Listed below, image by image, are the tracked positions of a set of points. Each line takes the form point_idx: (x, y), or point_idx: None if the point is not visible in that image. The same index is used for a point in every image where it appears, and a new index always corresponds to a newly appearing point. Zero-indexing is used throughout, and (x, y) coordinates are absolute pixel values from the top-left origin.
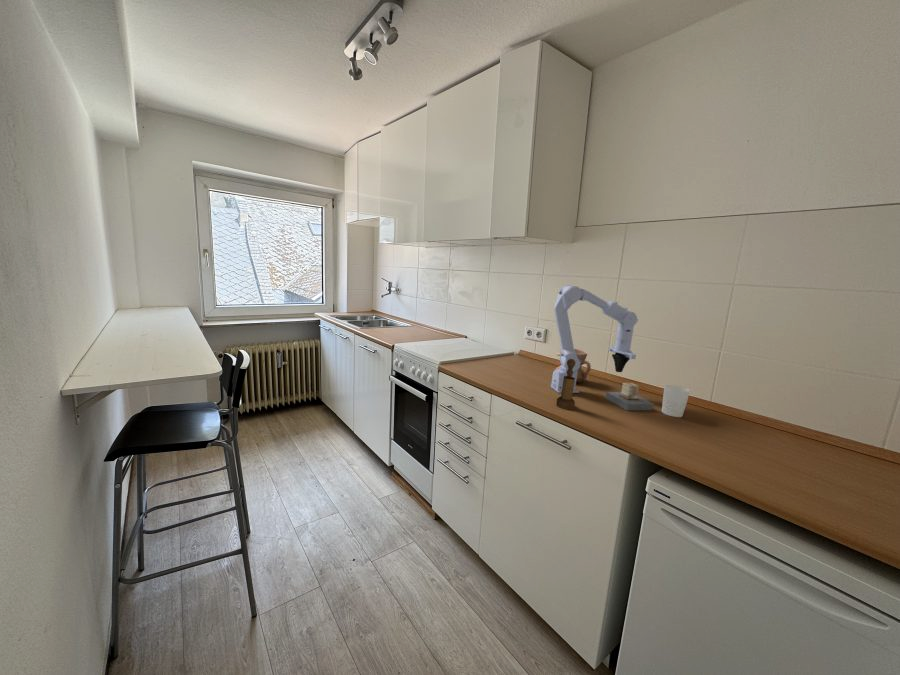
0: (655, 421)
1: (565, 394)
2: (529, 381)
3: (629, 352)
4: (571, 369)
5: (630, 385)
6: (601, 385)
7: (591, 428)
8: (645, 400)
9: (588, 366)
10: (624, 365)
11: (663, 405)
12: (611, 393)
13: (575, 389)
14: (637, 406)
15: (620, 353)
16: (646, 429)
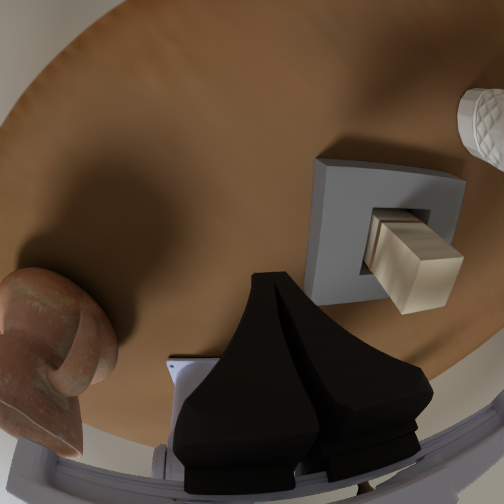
0: (486, 240)
1: None
2: (142, 416)
3: (453, 482)
4: (368, 483)
5: (441, 297)
6: (95, 199)
7: (432, 378)
8: (438, 183)
9: (93, 371)
10: (323, 317)
11: (488, 161)
12: (331, 293)
13: (212, 361)
14: None
15: (296, 497)
16: (487, 293)
